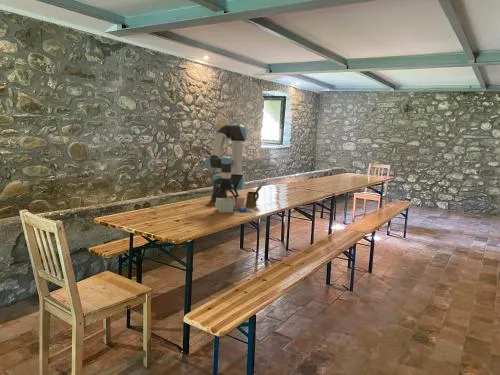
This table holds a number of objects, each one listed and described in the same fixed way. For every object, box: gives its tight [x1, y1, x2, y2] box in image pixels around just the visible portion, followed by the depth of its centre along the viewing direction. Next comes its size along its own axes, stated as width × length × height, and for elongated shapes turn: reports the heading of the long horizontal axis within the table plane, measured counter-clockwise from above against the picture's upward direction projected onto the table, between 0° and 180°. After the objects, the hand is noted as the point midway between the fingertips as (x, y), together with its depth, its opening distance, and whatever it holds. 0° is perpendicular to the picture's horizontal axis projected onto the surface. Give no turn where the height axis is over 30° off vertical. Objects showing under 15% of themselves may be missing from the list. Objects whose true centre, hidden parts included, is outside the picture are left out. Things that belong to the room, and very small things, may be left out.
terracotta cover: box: [227, 195, 245, 209], centre depth 295 cm, size 10×10×9 cm
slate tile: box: [233, 208, 254, 214], centre depth 283 cm, size 13×13×1 cm
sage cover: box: [216, 198, 234, 213], centre depth 282 cm, size 10×10×9 cm
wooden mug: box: [244, 185, 262, 207], centre depth 304 cm, size 9×14×18 cm, turn 61°
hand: (225, 206), depth 282 cm, fingers open, 13 cm apart
